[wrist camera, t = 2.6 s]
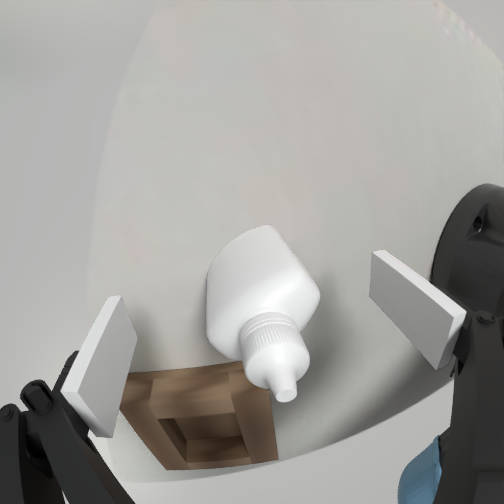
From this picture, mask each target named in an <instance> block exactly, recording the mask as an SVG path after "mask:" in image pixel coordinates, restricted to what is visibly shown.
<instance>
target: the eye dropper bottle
mask: <svg viewBox="0 0 504 504" xmlns="http://www.w3.org/2000/svg"><path fill="white" fill-rule="evenodd" d="M319 300H320V292H319V289H318V287H317V285H316V284H315V282H314V281H313V279H312V278H311V276H310V275H309V273H308V272H307V270H306V269H305V268H304V266H303V265H302V263H301V262H300V261H299V259H298V258H297V256H296V255H295V254H294V252H293V251H292V250H291V248H290V247H289V246H288V244H287V243H286V242H285V240H284V239H283V238H282V236H281V235H280V234H279V233H278V232H277V230H276V229H275V228H274V227H272V226H270V225H263V226H259V227H256V228H253V229H251V230H248V231H246V232H244V233H242V234H241V235H239V236H237V237H236V238H234V239H233V240H232V241H230V242H229V243H228V244H227V245H226V246H225V247H224V248H223V249H222V250H221V251H220V252H219V254H218V255H217V256H216V258H215V259H214V261H213V262H212V264H211V266H210V268H209V271H208V275H207V301H206V332H207V338H208V340H209V342H210V343H211V345H212V346H213V347H214V348H215V349H216V350H218V351H219V352H220V353H221V354H222V355H224V356H225V357H227V358H228V359H231V360H234V361H243V365H244V372H245V374H246V377H247V379H248V380H249V381H250V382H251V383H252V384H254V385H256V386H258V387H261V388H265V389H271V390H272V392H273V394H274V396H275V398H276V399H277V400H278V401H279V402H289V401H291V400H293V399H294V398H295V397H296V396H297V386H296V381H298V380H299V379H300V378H301V377H302V376H303V375H304V374H305V373H306V371H307V369H308V367H309V364H310V355H309V352H308V350H307V348H306V346H305V343H304V341H303V339H302V337H301V334H300V332H301V331H302V329H303V328H304V327H305V326H306V324H307V323H308V321H309V320H310V318H311V317H312V315H313V314H314V312H315V310H316V308H317V306H318V304H319Z"/></svg>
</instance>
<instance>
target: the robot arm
mask: <svg viewBox="0 0 504 504" xmlns="http://www.w3.org/2000/svg"><path fill="white" fill-rule="evenodd" d="M369 297H370V298H371V299H372V300H373V301H374V302H375V303H376V304H377V305H378V306H379V307H380V308H381V310H382V311H383V312H384V313H385V314H386V315H387V316H388V317H389V318H390V319H391V320H392V321H393V322H394V323H395V325H396V326H397V327H398V328H399V329H400V330H401V331H402V332H403V333H404V334H405V336H406V337H407V338H408V339H409V340H410V341H411V342H412V343H413V344H414V346H415V347H416V348H417V349H418V350H419V351H420V352H421V354H422V355H423V356H424V357H425V358H426V359H427V360H428V362H429V363H430V364H431V365H432V366H433V367H434V369H435V370H438V369H440V368H442V367H444V366H446V365H448V364H449V362H450V359H451V357H452V354H454V355H455V356H456V357H457V359H456V362H455V364H454V367H453V369H452V371H451V374H450V377H452V376H453V373H454V372H455V376H454V394H453V406H452V416H451V423H450V427H449V428H448V429H447V430H446V431H445V432H443V433H442V434H441V435H438V436H437V437H435V439H434V440H433V443H431V444H430V446H428V447H427V448H426V449H425V450H424V451H422V452H421V453H420V454H419V455H418V456H417V457H415V458H414V459H413V460H412V461H411V462H410V463H409V464H408V465H407V466H406V468H405V469H404V471H403V473H402V475H401V478H400V481H399V486H398V504H504V188H503V187H500V186H497V185H493V184H483V185H480V186H477V187H476V188H474V189H473V190H471V191H470V192H469V193H468V194H467V195H466V196H465V197H464V198H463V199H462V200H461V202H460V203H459V204H458V206H457V207H456V209H455V210H454V212H453V214H452V215H451V217H450V219H449V221H448V223H447V225H446V228H445V230H444V232H443V235H442V237H441V240H440V243H439V246H438V250H437V253H436V257H435V262H434V268H433V276H432V284H431V283H429V282H428V281H427V280H425V279H424V278H423V277H421V276H420V275H418V274H417V273H416V272H414V271H413V270H412V269H410V268H409V267H407V266H406V265H405V264H403V263H402V262H400V261H399V260H398V259H396V258H395V257H393V256H392V255H390V254H389V253H388V252H386V251H385V250H380V251H375V252H372V261H371V278H370V292H369ZM137 340H138V337H137V335H136V332H135V330H134V327H133V325H132V322H131V320H130V317H129V314H128V312H127V309H126V306H125V304H124V301H123V298H122V295H120V296H113V297H108V299H107V301H106V302H105V304H104V306H103V308H102V310H101V311H100V313H99V315H98V317H97V319H96V320H95V322H94V324H93V326H92V328H91V330H90V332H89V333H88V335H87V337H86V339H85V341H84V343H83V345H82V347H81V349H80V351H75V352H74V353H73V354H72V355H71V356H70V357H69V358H68V359H67V361H66V363H65V365H64V368H63V369H62V371H61V374H60V375H59V377H58V379H57V382H56V384H55V386H54V388H53V390H52V391H51V390H50V389H49V387H48V386H47V384H46V383H45V381H43V380H34V381H31V382H30V383H28V384H27V385H26V386H25V387H24V388H23V389H22V391H21V394H20V399H21V400H22V402H23V403H24V404H25V406H26V407H27V408H28V409H29V411H24V412H21V411H20V410H19V408H18V407H17V406H16V405H15V404H7V405H5V406H3V407H2V408H1V409H0V504H65V500H64V497H63V493H62V491H63V492H64V494H65V497H66V498H67V500H68V502H69V504H135V502H134V501H133V500H132V499H131V497H130V496H129V495H128V494H127V492H126V491H125V490H124V488H123V487H122V486H121V484H120V483H119V482H118V480H117V479H116V478H115V476H114V475H113V473H112V472H111V470H110V469H109V467H108V466H107V465H106V463H105V462H104V460H103V459H102V457H101V455H100V454H99V452H98V451H97V449H96V447H95V446H94V444H93V443H92V441H91V440H90V438H89V437H88V436H87V435H88V431H89V429H90V430H91V431H92V432H93V433H94V434H95V436H96V437H106V438H113V433H114V429H115V424H116V420H117V415H118V411H119V407H120V403H121V399H122V395H123V391H124V387H125V383H126V379H127V375H128V372H129V368H130V364H131V361H132V357H133V354H134V350H135V347H136V344H137Z"/></svg>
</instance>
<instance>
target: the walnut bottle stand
mask: <svg viewBox="0 0 504 504" xmlns="http://www.w3.org/2000/svg"><path fill="white" fill-rule="evenodd" d="M119 409H120V411H121V412H122V414H123V415H124V416H125V418H126V419H127V421H128V422H129V423H130V425H131V426H132V428H133V429H134V430H135V432H136V433H137V434H138V436H139V437H140V438H141V440H142V441H143V442H144V443H145V445H146V446H147V447H148V449H149V450H150V451H151V452H152V453H153V455H154V456H155V457H156V458H157V459H158V461H159V462H160V463H161V464H162V465H163V466H164V468H165V469H166V470H195V469H211V468H223V467H233V466H241V465H249V464H255V463H262V462H268V461H273V460H278V459H279V458H278V451H277V444H276V437H275V430H274V423H273V416H272V409H271V402H270V395H269V390H268V389H265V388H261V387H258V386H256V385H254V384H252V383H251V382H250V381H249V380H248V379H247V377H246V374H245V372H244V365H243V361H238V362H232V363H225V364H218V365H211V366H203V367H195V368H186V369H176V370H166V371H154V372H139V373H128V375H127V379H126V383H125V387H124V391H123V395H122V399H121V403H120V407H119Z"/></svg>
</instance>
